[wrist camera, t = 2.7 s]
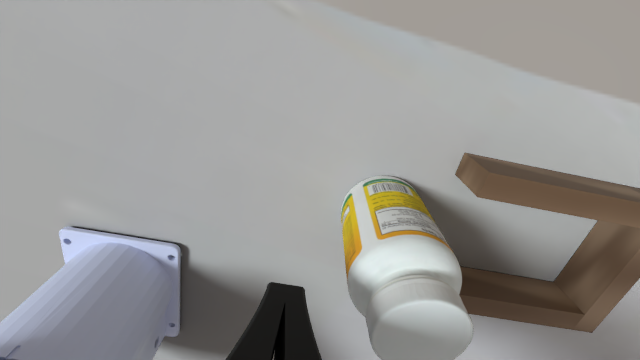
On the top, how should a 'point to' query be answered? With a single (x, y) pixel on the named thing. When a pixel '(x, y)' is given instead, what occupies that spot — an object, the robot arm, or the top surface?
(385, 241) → the supplement bottle
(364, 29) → the top surface
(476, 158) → the u rest
